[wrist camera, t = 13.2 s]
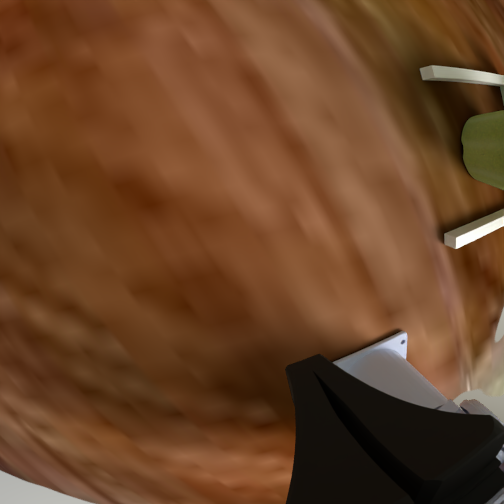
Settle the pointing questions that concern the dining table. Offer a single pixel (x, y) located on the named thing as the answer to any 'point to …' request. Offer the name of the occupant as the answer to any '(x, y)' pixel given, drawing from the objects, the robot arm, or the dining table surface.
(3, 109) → the dining table surface
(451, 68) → the display bay
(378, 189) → the dining table surface
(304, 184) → the dining table surface
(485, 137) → the plant pot
